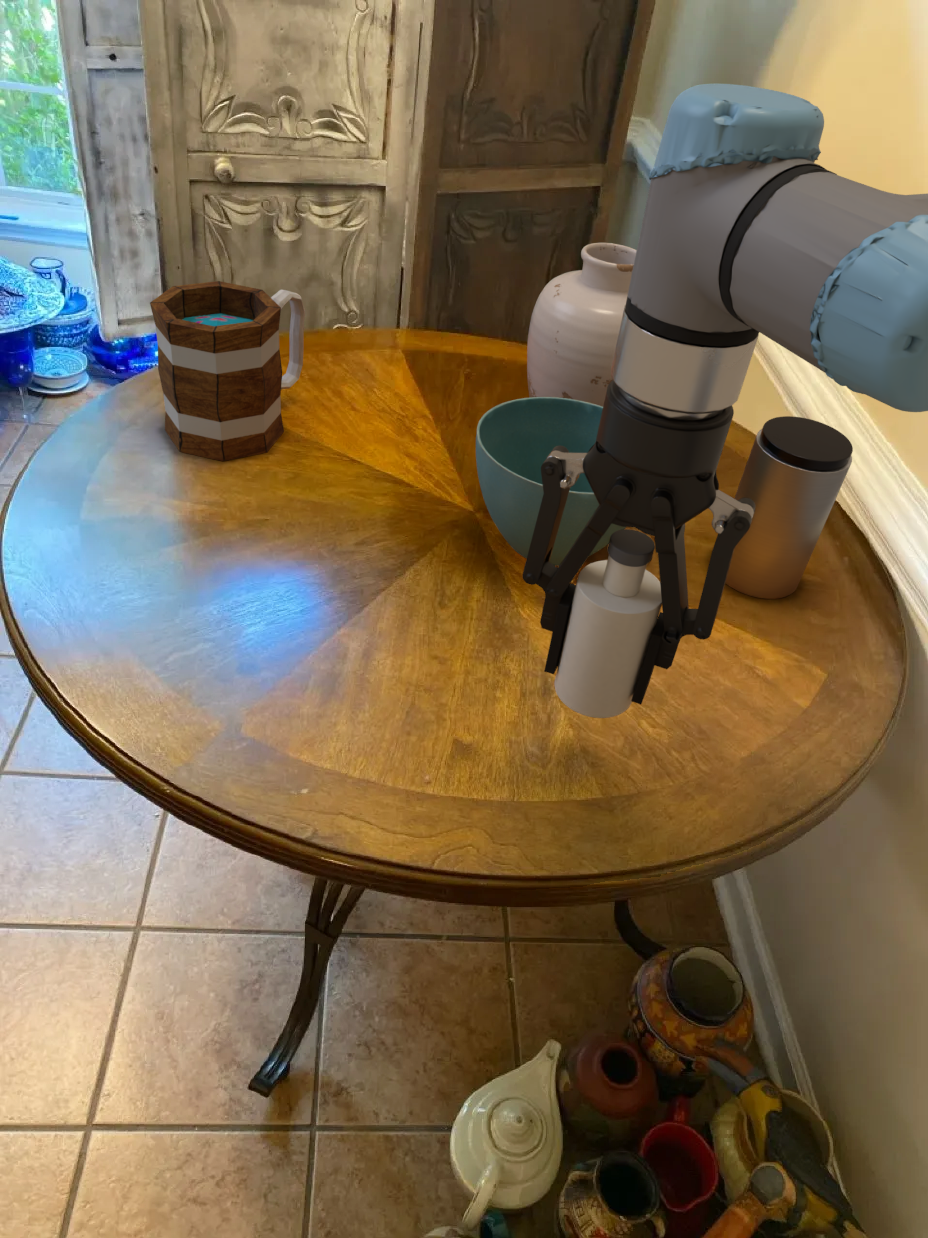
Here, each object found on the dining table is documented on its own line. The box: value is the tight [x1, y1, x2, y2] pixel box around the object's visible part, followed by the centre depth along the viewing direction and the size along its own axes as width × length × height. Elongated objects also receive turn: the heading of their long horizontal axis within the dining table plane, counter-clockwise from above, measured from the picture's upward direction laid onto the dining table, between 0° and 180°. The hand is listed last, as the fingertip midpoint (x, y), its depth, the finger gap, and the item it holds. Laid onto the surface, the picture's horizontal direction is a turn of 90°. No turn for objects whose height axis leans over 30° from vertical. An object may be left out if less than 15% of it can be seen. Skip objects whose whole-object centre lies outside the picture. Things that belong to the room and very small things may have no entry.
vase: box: [526, 242, 637, 407], centre depth 107 cm, size 16×16×23 cm
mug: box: [149, 280, 306, 462], centre depth 104 cm, size 20×14×15 cm
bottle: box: [553, 528, 662, 719], centre depth 65 cm, size 6×6×14 cm
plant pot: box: [475, 397, 627, 567], centre depth 93 cm, size 18×18×12 cm
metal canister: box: [725, 415, 854, 600], centre depth 91 cm, size 9×9×16 cm
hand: (597, 676), depth 68 cm, fingers closed on bottle, 6 cm apart
